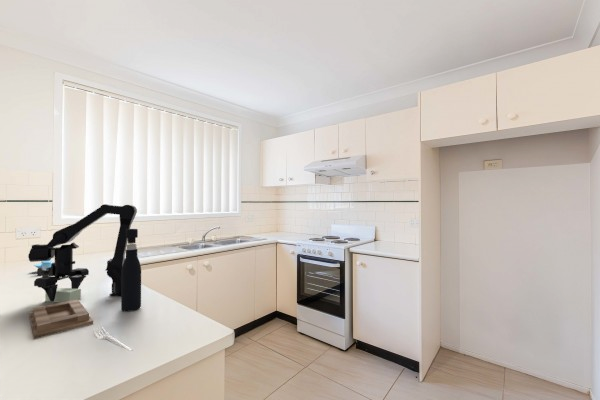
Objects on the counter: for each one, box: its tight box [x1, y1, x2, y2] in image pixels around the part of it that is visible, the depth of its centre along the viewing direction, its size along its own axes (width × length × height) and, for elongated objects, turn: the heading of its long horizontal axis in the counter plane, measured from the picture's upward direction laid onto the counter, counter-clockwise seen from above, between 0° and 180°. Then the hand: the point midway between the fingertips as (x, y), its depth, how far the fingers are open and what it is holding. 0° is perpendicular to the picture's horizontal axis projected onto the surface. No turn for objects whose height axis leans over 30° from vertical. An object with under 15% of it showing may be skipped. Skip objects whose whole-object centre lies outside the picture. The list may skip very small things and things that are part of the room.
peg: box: [44, 287, 82, 303], centre depth 114 cm, size 12×4×4 cm, turn 80°
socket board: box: [28, 299, 94, 339], centre depth 94 cm, size 25×14×3 cm, turn 47°
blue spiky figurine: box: [33, 259, 55, 269], centre depth 163 cm, size 18×10×9 cm, turn 43°
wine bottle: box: [120, 228, 142, 313], centre depth 105 cm, size 6×6×30 cm
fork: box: [93, 326, 133, 352], centre depth 79 cm, size 3×20×2 cm, turn 58°
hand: (63, 297), depth 114 cm, fingers open, 9 cm apart
